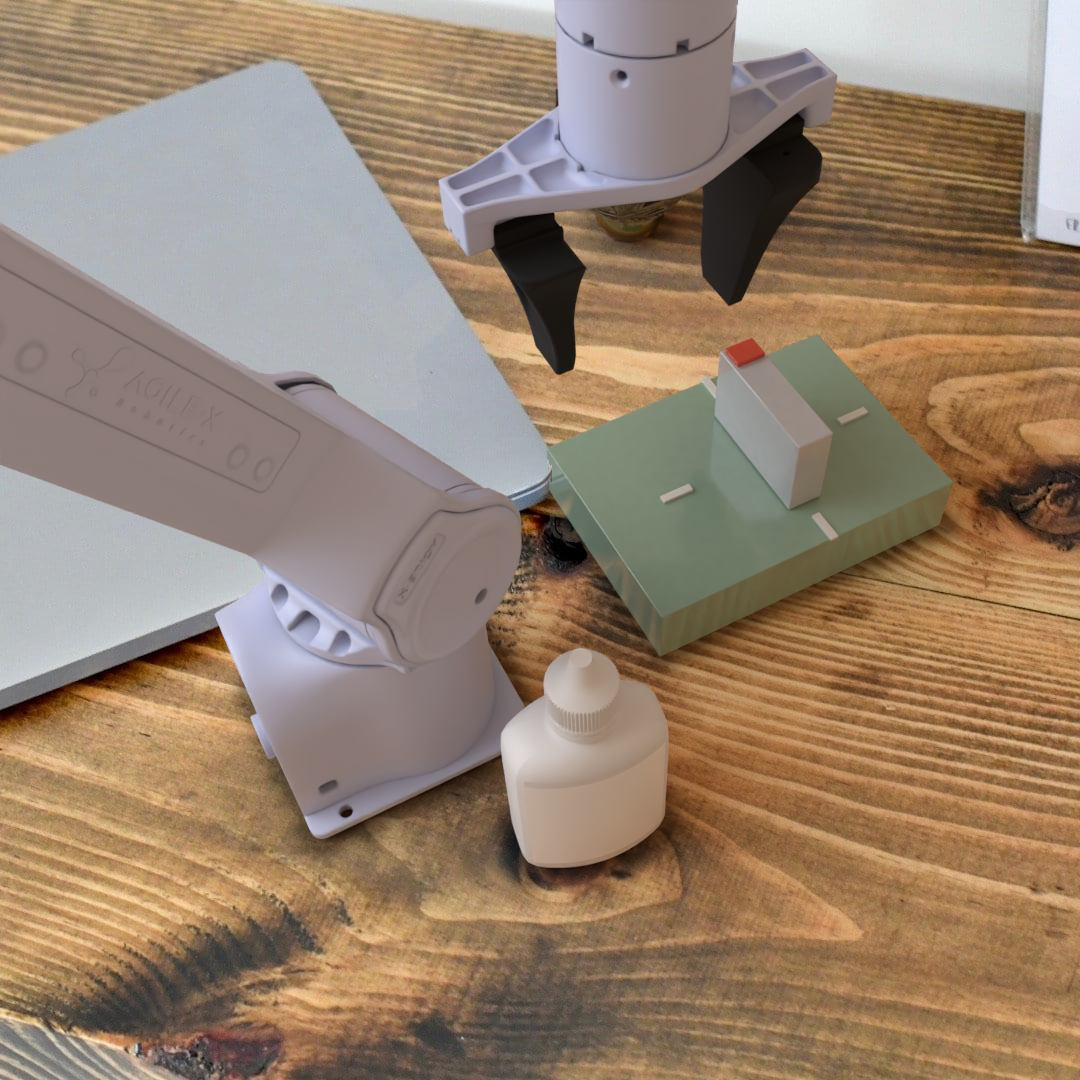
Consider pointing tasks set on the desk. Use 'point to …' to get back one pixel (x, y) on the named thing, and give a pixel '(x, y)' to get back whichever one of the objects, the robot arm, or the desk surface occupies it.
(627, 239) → the cup
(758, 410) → the tap handle
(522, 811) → the eye dropper bottle
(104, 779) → the desk surface
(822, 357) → the plate
